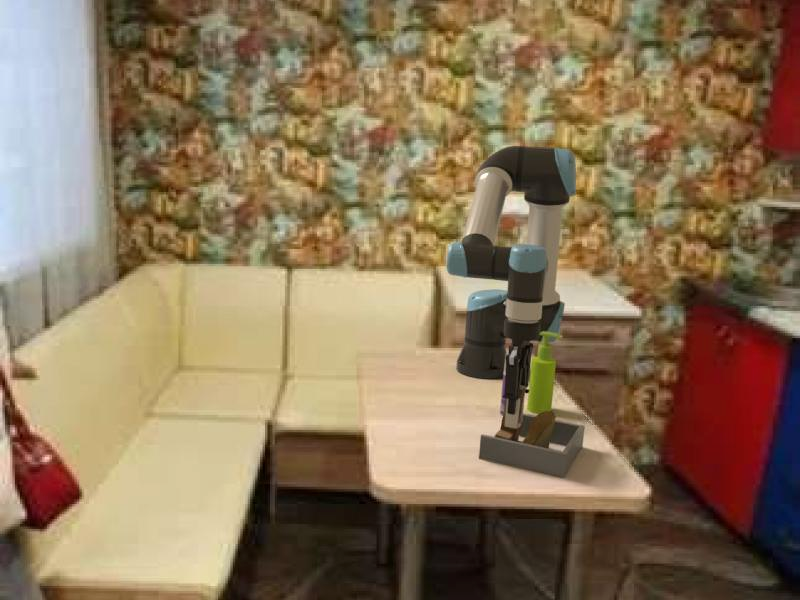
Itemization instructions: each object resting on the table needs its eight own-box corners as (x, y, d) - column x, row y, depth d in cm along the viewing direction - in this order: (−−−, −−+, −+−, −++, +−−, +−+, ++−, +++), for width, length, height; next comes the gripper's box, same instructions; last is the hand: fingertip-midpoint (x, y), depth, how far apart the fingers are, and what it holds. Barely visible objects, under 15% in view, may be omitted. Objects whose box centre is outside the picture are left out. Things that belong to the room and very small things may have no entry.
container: (518, 418, 190) (524, 359, 186) (499, 416, 191) (504, 356, 187) (519, 412, 194) (525, 353, 191) (500, 409, 195) (505, 351, 192)
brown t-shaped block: (505, 436, 178) (517, 378, 174) (518, 440, 176) (530, 382, 173) (491, 451, 169) (504, 391, 165) (505, 456, 168) (517, 395, 164)
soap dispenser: (549, 417, 192) (557, 337, 188) (523, 410, 196) (530, 332, 191) (558, 410, 197) (566, 333, 193) (532, 404, 200) (539, 328, 196)
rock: (528, 458, 161) (568, 446, 165) (513, 419, 164) (553, 408, 168) (506, 470, 171) (545, 458, 175) (493, 432, 173) (531, 421, 177)
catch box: (504, 430, 182) (506, 410, 181) (582, 447, 175) (584, 425, 174) (478, 458, 166) (480, 435, 165) (563, 477, 159) (566, 454, 158)
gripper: (515, 309, 175) (507, 409, 180) (494, 324, 160) (485, 432, 165) (549, 314, 172) (539, 416, 177) (530, 329, 157) (520, 440, 162)
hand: (513, 424), depth 171 cm, fingers closed on brown t-shaped block, 3 cm apart
